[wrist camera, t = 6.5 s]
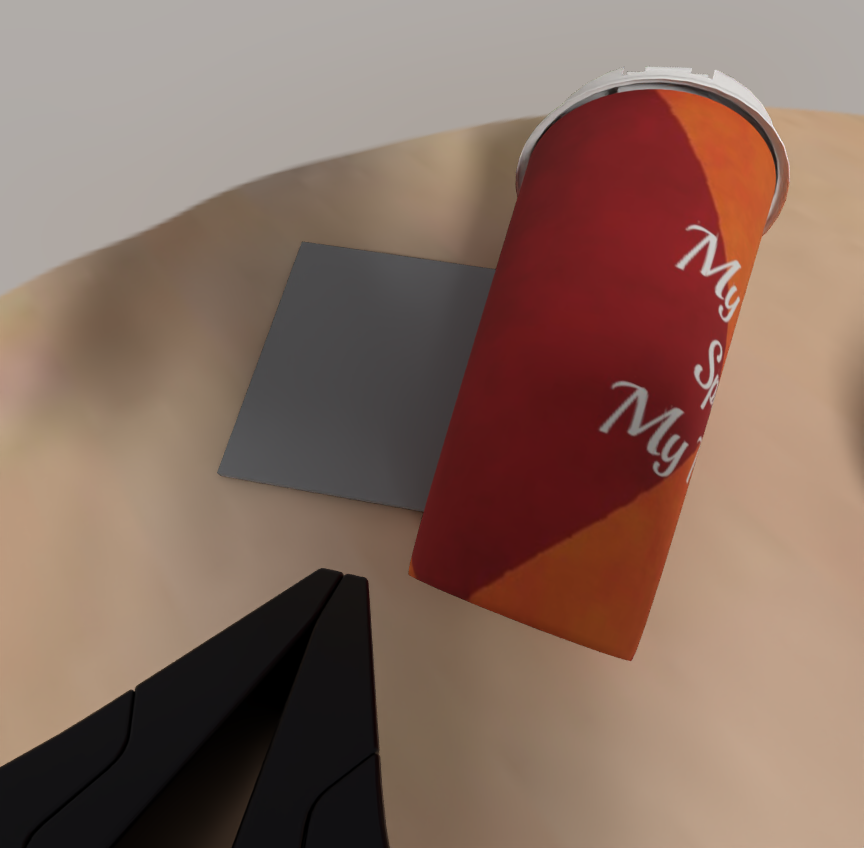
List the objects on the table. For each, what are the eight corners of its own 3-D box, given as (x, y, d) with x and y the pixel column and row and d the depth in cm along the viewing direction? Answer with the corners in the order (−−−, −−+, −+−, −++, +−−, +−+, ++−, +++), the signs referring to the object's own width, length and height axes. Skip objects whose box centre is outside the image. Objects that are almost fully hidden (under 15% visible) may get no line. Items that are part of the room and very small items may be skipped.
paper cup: (747, 716, 7) (863, 40, 11) (311, 542, 10) (521, 36, 13) (649, 660, 14) (737, 265, 18) (412, 568, 17) (531, 236, 20)
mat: (622, 292, 20) (624, 287, 19) (613, 545, 16) (616, 544, 15) (304, 246, 20) (302, 241, 20) (220, 475, 16) (216, 473, 16)
